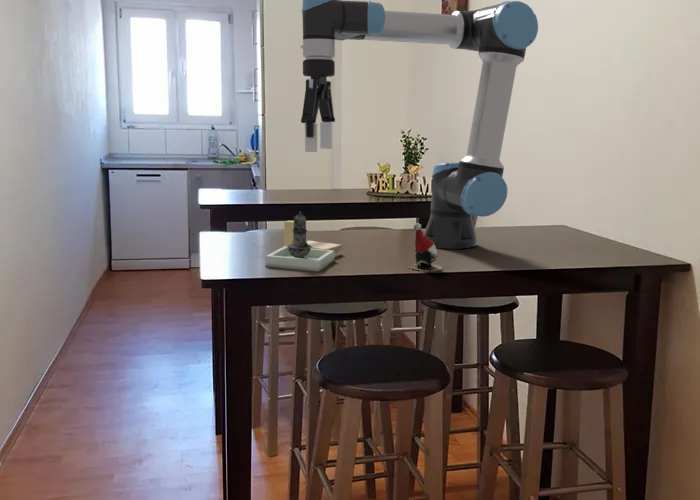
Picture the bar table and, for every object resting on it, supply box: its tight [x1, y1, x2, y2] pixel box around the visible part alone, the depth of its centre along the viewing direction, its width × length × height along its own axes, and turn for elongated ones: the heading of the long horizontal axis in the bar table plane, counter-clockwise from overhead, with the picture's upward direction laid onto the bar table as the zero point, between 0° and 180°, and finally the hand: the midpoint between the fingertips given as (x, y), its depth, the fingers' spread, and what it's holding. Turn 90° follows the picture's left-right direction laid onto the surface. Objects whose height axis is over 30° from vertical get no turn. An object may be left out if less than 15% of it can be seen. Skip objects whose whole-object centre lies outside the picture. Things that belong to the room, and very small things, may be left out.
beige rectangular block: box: [306, 240, 343, 258], centre depth 181 cm, size 10×8×3 cm
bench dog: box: [283, 220, 294, 247], centre depth 182 cm, size 3×3×8 cm
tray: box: [265, 245, 335, 272], centre depth 169 cm, size 13×13×2 cm
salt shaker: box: [287, 210, 312, 259], centre depth 169 cm, size 6×6×12 cm
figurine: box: [407, 222, 443, 273], centre depth 168 cm, size 8×10×12 cm
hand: (318, 150), depth 171 cm, fingers open, 13 cm apart
